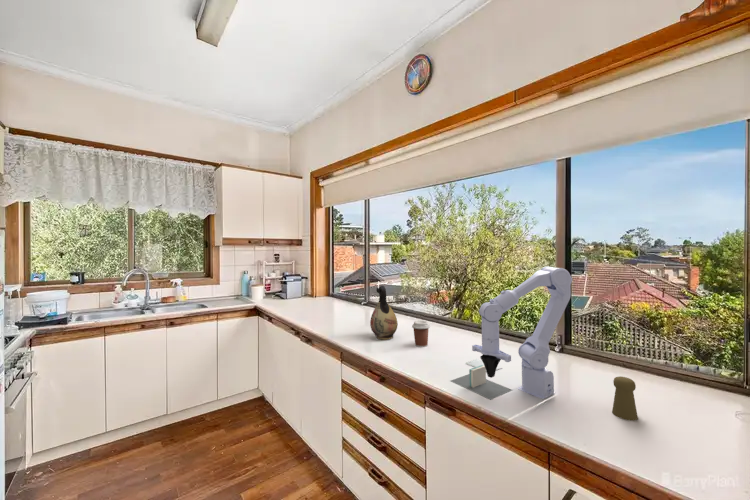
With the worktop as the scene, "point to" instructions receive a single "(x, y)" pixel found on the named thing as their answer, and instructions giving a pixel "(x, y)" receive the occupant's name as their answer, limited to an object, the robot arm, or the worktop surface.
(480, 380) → the tile
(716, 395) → the worktop surface
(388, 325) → the ceramic jug
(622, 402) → the olive green pepper mill
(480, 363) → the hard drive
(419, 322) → the coffee cup
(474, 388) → the mat
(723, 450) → the worktop surface
